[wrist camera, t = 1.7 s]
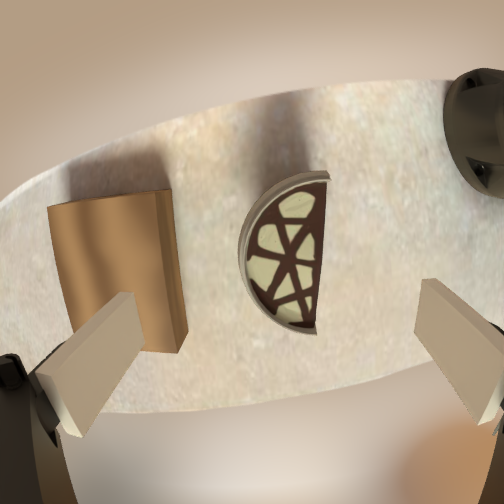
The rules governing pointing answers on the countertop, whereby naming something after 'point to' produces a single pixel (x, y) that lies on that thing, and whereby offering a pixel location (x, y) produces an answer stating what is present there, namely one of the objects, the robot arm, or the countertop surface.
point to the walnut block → (122, 261)
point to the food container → (286, 250)
